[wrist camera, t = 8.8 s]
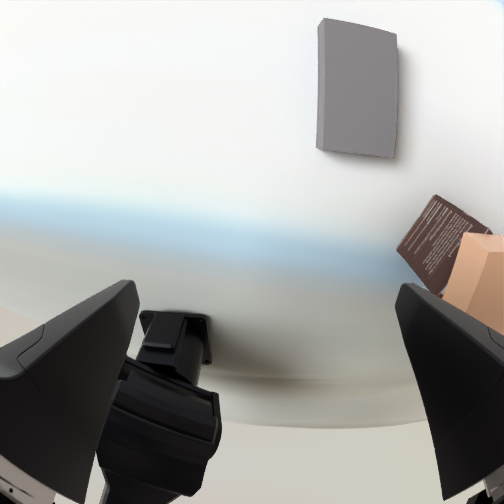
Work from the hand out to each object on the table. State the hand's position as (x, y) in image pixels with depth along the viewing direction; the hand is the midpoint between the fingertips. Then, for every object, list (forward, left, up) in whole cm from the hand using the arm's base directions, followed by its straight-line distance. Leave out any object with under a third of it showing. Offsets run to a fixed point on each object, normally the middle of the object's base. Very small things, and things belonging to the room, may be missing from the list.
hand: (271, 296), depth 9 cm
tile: (-3, -15, -5) cm, 16 cm away
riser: (+8, -6, -12) cm, 16 cm away
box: (-3, -15, -12) cm, 20 cm away
